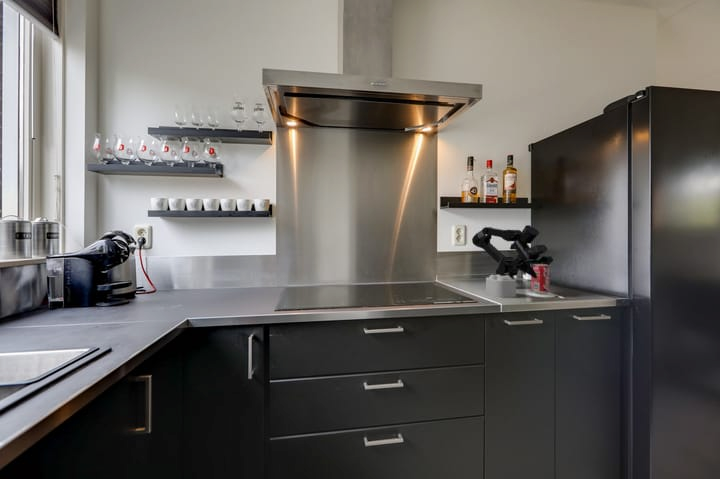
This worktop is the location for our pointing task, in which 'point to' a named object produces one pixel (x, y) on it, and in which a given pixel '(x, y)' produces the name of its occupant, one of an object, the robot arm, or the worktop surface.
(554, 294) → the tear line
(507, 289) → the grey bumpy block
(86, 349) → the worktop surface
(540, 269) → the soda can
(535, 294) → the coaster
